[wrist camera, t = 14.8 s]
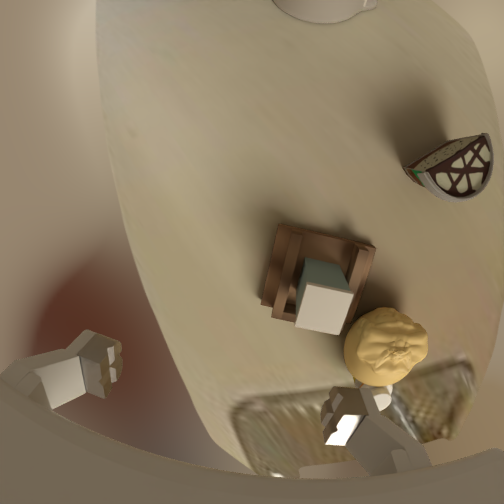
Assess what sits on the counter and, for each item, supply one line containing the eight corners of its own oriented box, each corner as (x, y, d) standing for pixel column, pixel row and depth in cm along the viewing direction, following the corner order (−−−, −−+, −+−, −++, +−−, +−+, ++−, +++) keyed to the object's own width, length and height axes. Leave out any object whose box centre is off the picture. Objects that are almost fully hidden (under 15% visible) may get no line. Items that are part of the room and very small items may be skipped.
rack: (278, 223, 40) (276, 229, 35) (373, 245, 39) (382, 254, 34) (261, 300, 43) (257, 314, 39) (349, 318, 42) (354, 334, 38)
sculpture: (416, 301, 40) (445, 335, 29) (392, 362, 43) (410, 402, 33) (351, 292, 41) (369, 329, 30) (332, 357, 44) (340, 402, 34)
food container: (413, 210, 36) (445, 223, 27) (394, 172, 35) (424, 174, 26) (469, 173, 33) (508, 177, 24) (453, 136, 32) (490, 131, 23)
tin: (304, 256, 39) (307, 284, 29) (340, 264, 39) (353, 294, 29) (295, 290, 41) (294, 326, 31) (329, 297, 40) (338, 335, 30)
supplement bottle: (385, 351, 43) (402, 390, 33) (374, 376, 44) (387, 416, 35) (356, 348, 43) (369, 388, 34) (345, 373, 45) (355, 415, 35)
